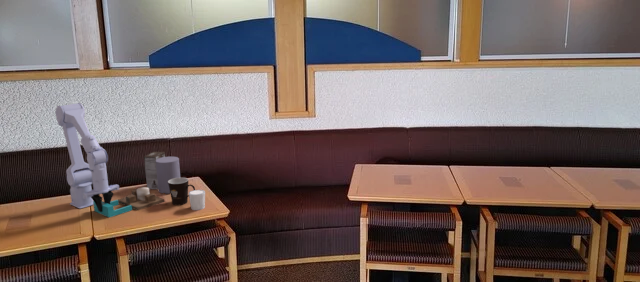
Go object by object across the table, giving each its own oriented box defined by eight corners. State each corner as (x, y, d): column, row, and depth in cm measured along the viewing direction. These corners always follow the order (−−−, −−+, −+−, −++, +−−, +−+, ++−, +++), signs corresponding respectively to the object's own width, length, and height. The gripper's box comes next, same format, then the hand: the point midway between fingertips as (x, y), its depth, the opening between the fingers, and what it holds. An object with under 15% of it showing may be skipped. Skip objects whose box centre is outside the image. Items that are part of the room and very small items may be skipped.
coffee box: (156, 183, 256) (153, 151, 252) (168, 183, 255) (165, 151, 251) (146, 189, 247) (143, 156, 243) (159, 189, 246) (156, 156, 242)
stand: (144, 194, 240) (142, 182, 239) (164, 201, 230) (163, 189, 229) (117, 202, 230) (116, 190, 229) (137, 210, 220) (136, 197, 219)
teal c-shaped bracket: (117, 204, 228) (116, 194, 227) (132, 210, 221) (131, 200, 220) (94, 211, 220) (93, 201, 219) (108, 217, 213) (107, 207, 212)
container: (154, 193, 240) (151, 162, 237) (164, 186, 250) (161, 156, 247) (176, 194, 239) (173, 162, 235) (184, 187, 249) (182, 156, 245)
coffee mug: (166, 202, 229) (164, 180, 226) (183, 197, 235) (181, 176, 232) (180, 209, 221) (178, 186, 218) (197, 203, 226) (196, 181, 224)
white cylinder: (186, 208, 221) (184, 193, 219) (198, 203, 227) (197, 188, 225) (197, 211, 217) (196, 195, 216) (209, 206, 223) (208, 191, 221)
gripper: (87, 185, 206) (91, 217, 209) (121, 176, 217) (125, 207, 220) (78, 181, 211) (83, 213, 214) (112, 173, 221) (116, 203, 225)
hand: (103, 210), depth 217 cm, fingers closed on teal c-shaped bracket, 2 cm apart
